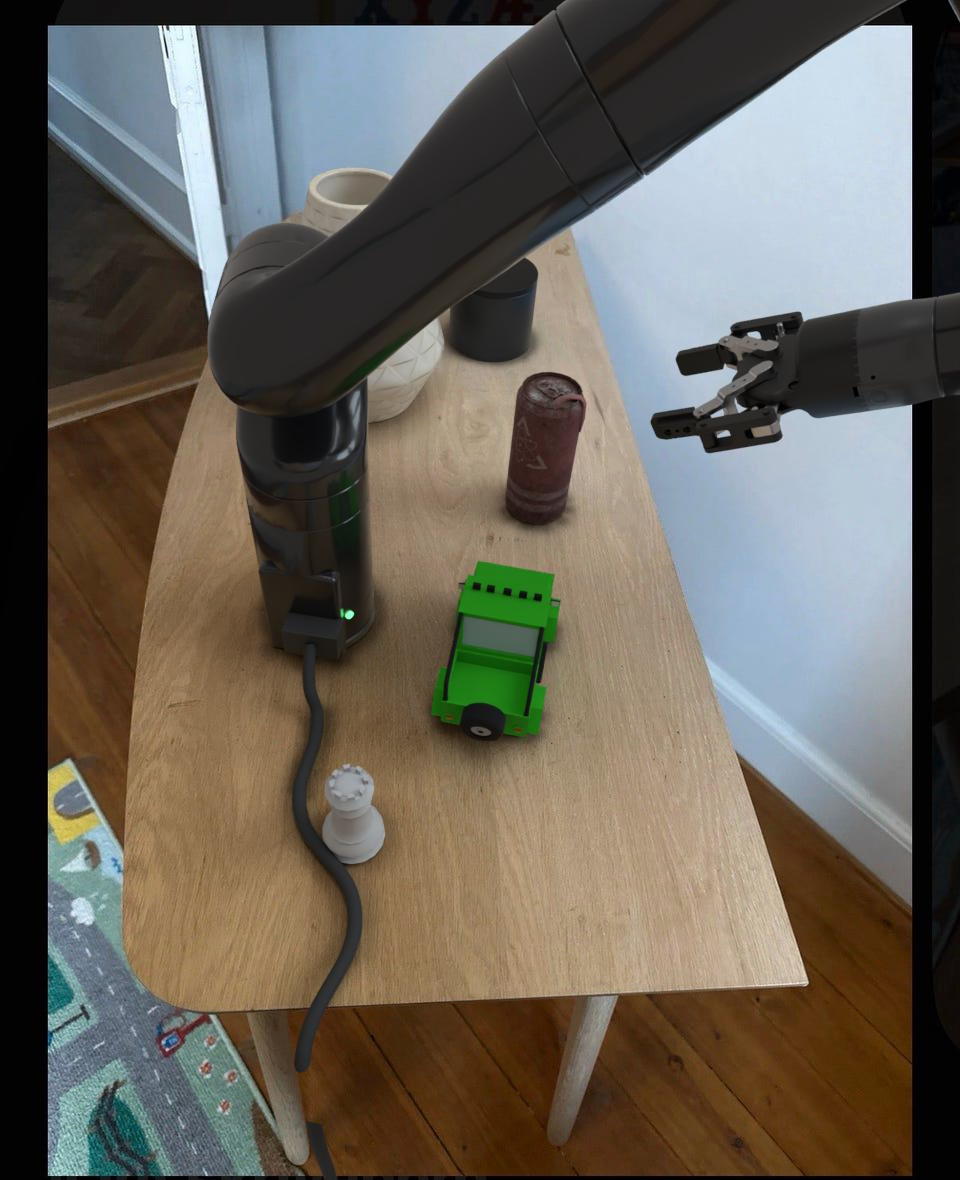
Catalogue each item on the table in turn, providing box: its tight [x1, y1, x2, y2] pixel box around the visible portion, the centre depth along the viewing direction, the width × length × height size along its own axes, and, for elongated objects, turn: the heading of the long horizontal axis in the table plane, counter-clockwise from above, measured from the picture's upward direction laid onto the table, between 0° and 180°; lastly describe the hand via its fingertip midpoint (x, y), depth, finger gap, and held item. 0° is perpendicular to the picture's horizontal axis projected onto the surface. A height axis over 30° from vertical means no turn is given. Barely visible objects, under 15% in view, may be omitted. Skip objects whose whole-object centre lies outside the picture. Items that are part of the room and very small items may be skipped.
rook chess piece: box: [321, 763, 386, 865], centre depth 60 cm, size 4×4×8 cm
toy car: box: [430, 560, 562, 743], centre depth 69 cm, size 8×17×10 cm, turn 170°
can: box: [504, 371, 588, 525], centre depth 83 cm, size 6×6×14 cm
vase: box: [300, 166, 445, 424], centre depth 90 cm, size 18×17×23 cm
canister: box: [448, 257, 539, 363], centre depth 105 cm, size 10×10×9 cm
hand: (666, 394), depth 74 cm, fingers open, 8 cm apart
